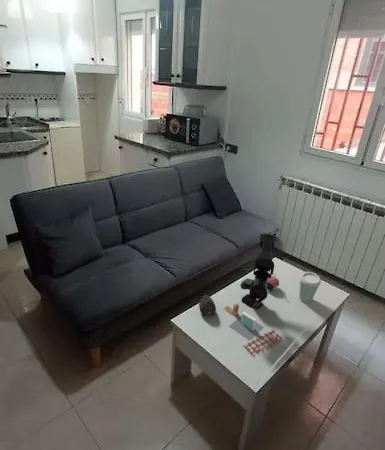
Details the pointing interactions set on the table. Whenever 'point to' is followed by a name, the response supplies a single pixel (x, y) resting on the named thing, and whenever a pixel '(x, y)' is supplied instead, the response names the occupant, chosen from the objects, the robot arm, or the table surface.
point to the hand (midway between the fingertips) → (255, 307)
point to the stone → (207, 306)
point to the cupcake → (273, 281)
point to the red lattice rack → (263, 343)
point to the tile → (248, 321)
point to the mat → (245, 329)
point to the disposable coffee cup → (308, 286)
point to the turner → (232, 311)
